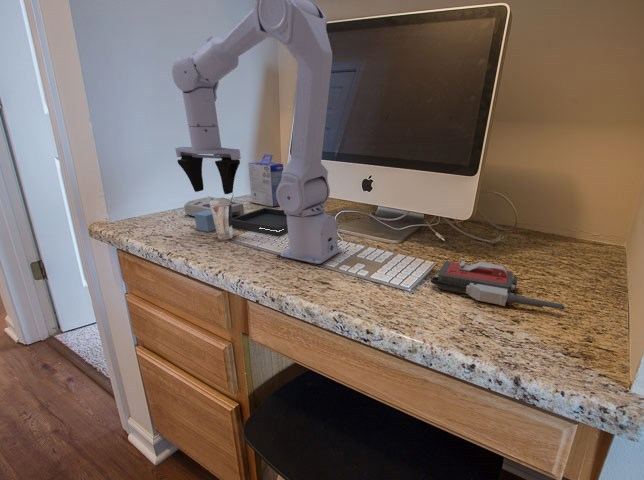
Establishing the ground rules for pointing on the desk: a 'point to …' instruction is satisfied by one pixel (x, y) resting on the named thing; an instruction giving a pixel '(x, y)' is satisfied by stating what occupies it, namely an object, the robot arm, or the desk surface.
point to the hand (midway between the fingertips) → (213, 192)
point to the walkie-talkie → (484, 283)
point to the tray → (262, 221)
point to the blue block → (204, 221)
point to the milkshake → (222, 217)
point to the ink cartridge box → (265, 181)
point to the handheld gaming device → (204, 205)
